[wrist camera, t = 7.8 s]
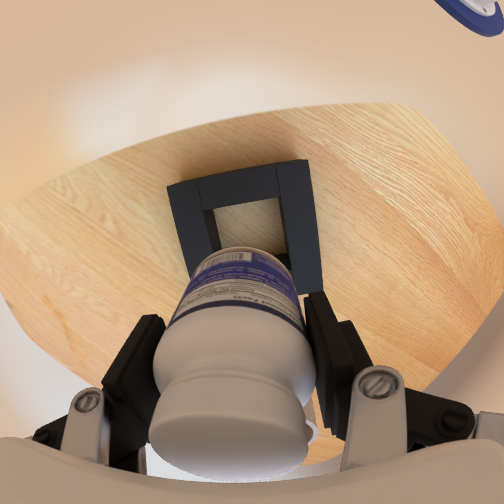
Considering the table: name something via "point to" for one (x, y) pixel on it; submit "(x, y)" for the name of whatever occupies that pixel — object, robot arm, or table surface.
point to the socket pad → (247, 190)
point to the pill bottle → (234, 372)
